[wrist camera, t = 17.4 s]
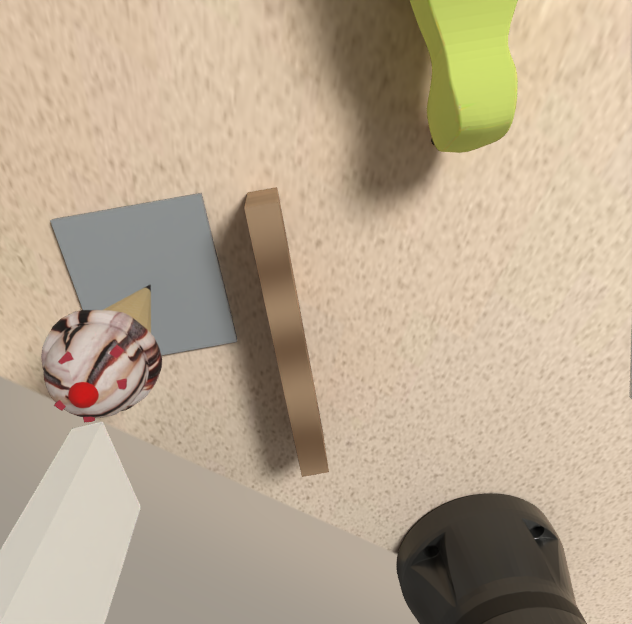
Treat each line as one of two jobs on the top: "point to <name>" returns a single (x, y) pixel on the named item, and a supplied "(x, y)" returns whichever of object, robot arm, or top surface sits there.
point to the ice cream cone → (102, 358)
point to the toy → (468, 71)
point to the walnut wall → (286, 327)
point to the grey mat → (152, 268)
